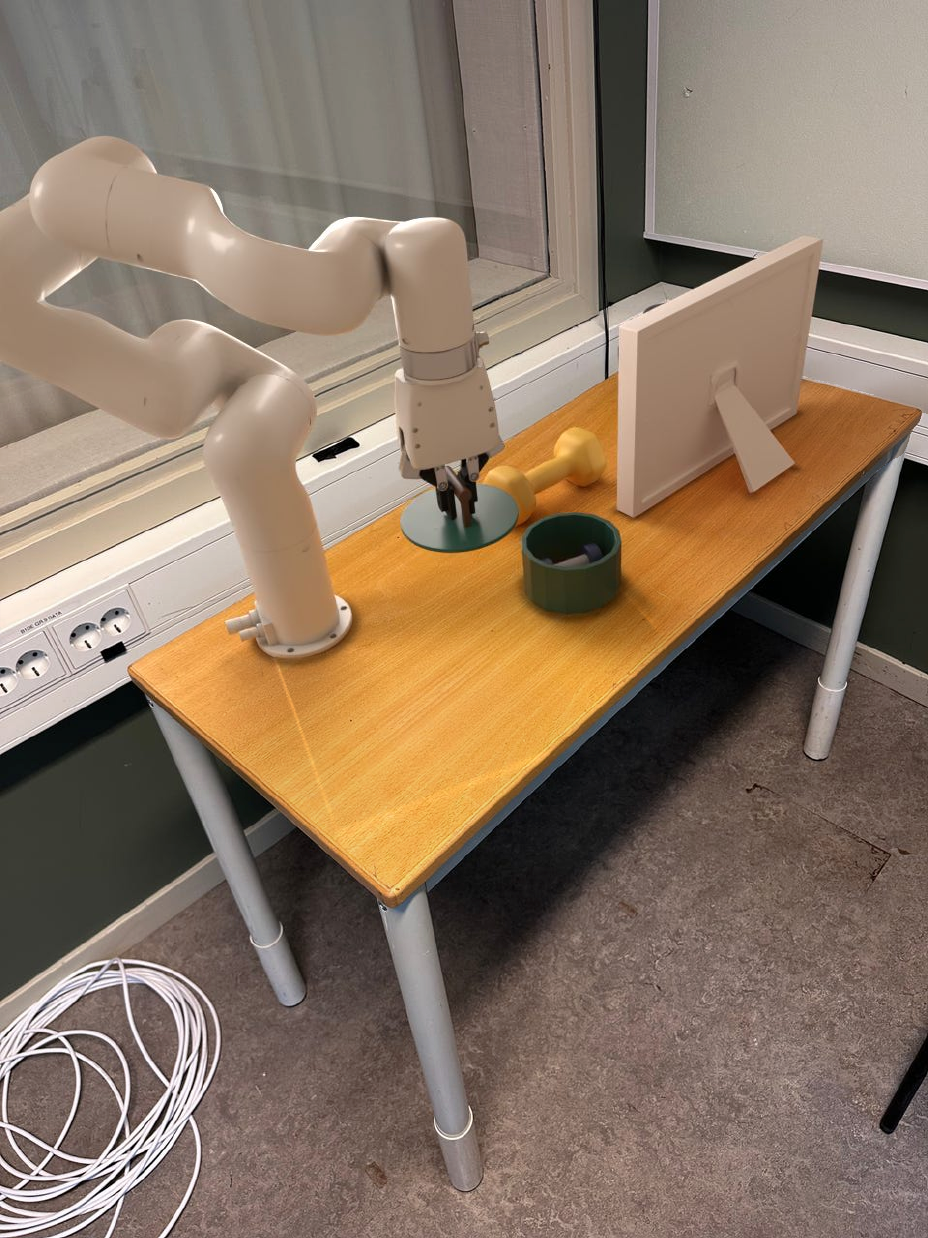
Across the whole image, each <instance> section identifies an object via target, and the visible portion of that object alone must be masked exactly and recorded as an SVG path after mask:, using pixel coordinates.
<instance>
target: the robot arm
mask: <svg viewBox="0 0 928 1238" xmlns="http://www.w3.org/2000/svg"><path fill="white" fill-rule="evenodd" d="M467 250H468V248H467V241H466V236H465V233H464V231H463V229H462V227H461V226H460V225H459V224H458V223H457V222H455V221H453V220H451V219H449V218H444V217H435V216H434V217H422V218H421V217H420V218H415V219H410V220H407V221H396V220H387V219H379V218H378V219H377V218H371V217H360V216H352V217H345V218H341V219H338V220H336V221H334V222H333V223H331V224H330V225H329V226H328V227H327V228H326V229H325V230H324V231H323V232H322V234H321V235H320V236H319V237H318V238H317V239H316V240H315V241H314V243H312V245H311V246H310V247H309V249H306V248H300V247H296V246H293V245H287V244H283V243H279V242H275V241H272V240H267V239H264V238H261V237H258V236H256V235H253V234H250V233H249V232H247V231H246V230H242V229H241V228H240V227H238V226H237V225H235V224H234V223H233V222H232V221H231V220H229V218H228V217H227V216H226V215H225V213H224V209H223V204H222V202H221V200H220V197H219V195H218V194H217V193H216V192H215V190H214V189H213V188H211V187H210V186H209V185H206V184H205V183H201V182H197V181H192V180H188V179H183V178H178V177H174V176H169V175H164V174H160V173H158V172H157V170H156V168H155V166H154V164H153V162H152V161H151V160H150V158H149V157H148V156H147V155H146V154H145V153H144V152H143V151H142V150H141V149H140V148H139V147H137V146H136V145H134V144H133V143H132V142H130V141H128V140H125V139H123V138H120V137H116V136H113V135H112V136H111V135H98V136H93V137H90V138H87V139H85V140H83V141H81V142H79V143H77V144H76V145H72V147H69V148H68V149H65V150H64V151H62V152H60V153H58V154H56V155H55V156H52V157H51V158H50V159H48V160H47V161H45V162H44V163H43V165H41V166H40V167H39V169H38V170H37V171H36V173H35V174H34V176H33V179H32V180H31V184H30V187H29V193H27V194H26V195H25V196H24V197H22V198H21V199H19V200H18V201H16V202H15V203H13V204H11V205H9V206H7V207H6V208H4V209H2V210H0V362H1V363H3V364H4V365H7V366H9V367H11V368H14V369H16V370H18V371H21V372H22V373H24V374H28V375H30V376H31V377H35V378H37V379H40V380H43V381H44V382H47V383H49V384H51V385H54V386H55V387H58V388H60V389H62V390H64V391H66V392H68V393H70V394H72V395H74V396H76V397H77V398H78V399H81V400H82V401H85V402H87V403H88V404H90V405H92V406H94V407H95V408H97V409H100V410H101V411H103V412H106V413H107V414H109V415H111V416H113V417H115V418H117V419H119V420H121V421H123V422H125V423H126V424H128V425H131V426H132V427H134V428H137V430H140V431H142V432H144V433H147V434H149V435H151V436H152V437H153V436H154V437H156V438H160V439H163V440H176V439H178V438H181V437H183V436H184V435H187V434H188V433H189V432H190V431H191V430H192V429H193V428H194V427H195V426H196V425H197V424H198V423H199V421H200V420H202V418H203V417H204V415H205V414H206V413H207V412H208V410H209V409H210V408H212V409H215V410H217V411H219V412H218V413H217V414H216V416H215V417H214V418H213V420H212V422H211V423H210V425H209V427H208V429H207V431H206V434H205V436H204V440H203V445H202V446H203V447H202V459H203V465H204V468H205V471H206V473H207V476H208V477H209V479H210V481H211V483H212V484H213V486H214V488H215V489H216V491H217V494H218V495H219V497H220V499H221V501H222V503H223V505H224V507H225V509H226V513H227V515H228V518H229V520H230V523H231V527H232V530H233V532H234V536H235V539H236V541H237V544H238V546H239V550H240V553H241V556H242V559H243V563H244V565H245V569H246V571H247V574H248V575H247V576H248V578H249V581H250V584H251V587H252V590H253V593H254V597H255V599H256V600H254V601H253V603H254V606H255V608H254V609H251V610H248V614H244V615H242V616H236V617H234V618H231V619H226V620H224V623H225V626H226V629H227V632H228V635H229V636H232V635H235V634H238V635H239V638H240V641H241V642H242V643H243V642H247V641H250V640H252V639H254V638H255V640H256V643H257V645H258V647H259V648H260V649H261V650H262V651H263V652H264V653H266V655H268V656H271V657H273V658H282V659H303V658H308V657H312V656H316V655H319V654H320V653H324V652H325V651H328V650H330V649H331V648H333V647H334V646H336V645H337V644H338V643H340V642H341V641H342V640H343V639H344V638H345V637H346V635H347V634H348V633H349V631H350V629H351V628H352V624H353V613H352V610H351V607H350V605H349V603H348V602H347V601H346V600H345V599H344V598H342V597H340V596H339V595H337V594H335V591H334V587H333V582H332V579H331V574H330V569H329V566H328V563H327V558H326V555H325V550H324V547H323V542H322V539H321V534H320V530H319V525H318V522H317V519H316V515H315V510H314V505H313V503H312V500H311V497H310V496H309V493H308V490H307V489H306V487H305V485H304V484H303V483H302V481H301V480H300V478H299V476H298V471H297V467H296V465H297V464H296V463H297V459H298V457H299V454H300V453H301V451H302V449H303V446H304V445H305V443H306V441H307V440H308V438H309V436H310V434H311V432H312V430H313V428H314V426H315V424H316V420H317V416H318V402H317V398H316V396H315V394H314V391H313V389H312V388H311V387H310V385H309V384H308V383H307V382H306V381H305V379H303V377H301V376H300V375H299V374H298V373H297V372H295V371H293V370H292V369H291V368H289V367H287V366H286V365H284V364H283V363H281V362H279V361H278V360H276V359H273V358H272V357H270V356H268V355H266V354H265V353H263V352H261V351H260V350H258V349H256V348H254V347H253V346H250V345H248V344H247V343H245V342H243V341H241V340H240V339H237V338H236V337H235V336H233V335H231V334H229V333H227V332H225V331H223V330H221V329H220V328H218V327H215V326H213V325H211V324H208V323H206V322H204V321H203V322H202V321H199V320H193V319H176V320H172V321H169V322H167V323H164V324H163V325H161V326H159V327H158V328H157V329H156V330H155V331H153V333H151V334H150V335H149V336H148V337H147V338H141V337H138V336H136V335H133V334H131V333H129V332H127V331H125V330H124V329H121V328H119V327H117V326H115V325H114V324H112V323H110V322H109V321H107V320H105V319H103V318H102V317H99V316H97V315H94V314H92V313H88V312H85V311H81V310H77V309H74V308H67V307H61V306H57V305H54V304H51V303H49V302H47V301H46V298H47V297H48V296H50V295H52V294H53V293H54V292H55V291H57V290H58V289H60V288H61V287H62V286H63V285H64V284H67V282H69V281H70V280H71V279H72V278H74V277H75V276H77V275H78V274H80V273H81V272H82V271H83V270H84V269H86V268H87V267H88V266H90V264H92V263H93V262H94V261H96V260H97V259H99V258H100V259H104V260H108V261H112V262H115V263H119V264H125V265H129V266H134V267H137V268H142V269H146V270H151V271H155V272H158V273H163V274H167V275H171V276H175V277H180V278H183V279H187V280H191V281H193V282H195V283H197V284H199V285H200V286H201V287H202V288H203V289H204V290H205V291H206V292H207V293H209V295H211V296H212V297H213V298H215V299H217V300H218V301H219V302H221V303H222V304H224V305H226V306H227V307H228V308H230V309H232V310H233V311H235V312H237V313H238V314H240V315H242V316H243V317H247V318H248V319H251V320H254V321H256V322H259V323H263V324H265V325H270V326H274V327H277V328H282V329H286V330H291V331H294V332H298V333H299V332H300V333H303V334H309V335H315V336H323V337H324V336H327V337H330V336H331V337H332V336H333V337H335V336H341V335H345V334H348V333H351V332H353V331H355V330H356V329H359V327H360V326H362V325H363V323H364V322H365V321H366V320H367V318H368V317H369V316H370V314H371V313H372V311H373V309H374V308H375V306H376V304H377V303H378V302H379V301H380V300H382V299H383V298H384V297H389V298H390V299H391V302H392V310H393V316H394V321H395V322H394V323H395V328H396V335H397V339H398V347H399V352H400V360H401V367H402V368H398V369H397V370H396V372H395V374H394V375H395V376H394V411H395V424H396V425H395V426H396V435H397V443H398V446H399V447H398V448H399V450H400V452H401V455H400V461H399V466H398V473H399V475H400V476H401V478H403V479H405V480H423V481H424V482H426V483H428V484H429V485H431V486H433V487H434V489H435V490H436V497H437V503H438V507H439V509H440V511H441V512H444V511H445V513H446V514H447V515H448V517H449V518H450V520H451V521H452V520H455V519H456V518H457V511H456V503H455V495H454V491H453V488H452V487H451V485H450V484H449V481H448V480H447V474H446V468H445V466H446V465H449V464H452V463H455V462H459V468H460V469H459V471H457V473H456V474H457V476H458V477H459V478H460V479H461V481H462V482H463V483H464V484H465V486H466V487H467V488H468V490H469V491H470V492H471V494H472V496H471V499H470V500H469V501H468V504H469V512H470V514H475V513H476V512H475V503H474V502H477V501H478V496H477V487H476V483H477V481H478V480H479V478H480V473H481V471H482V470H483V469H484V468H485V466H486V465H487V463H488V462H489V460H490V459H492V458H493V457H495V456H497V455H498V454H499V453H501V452H503V451H504V450H505V442H504V441H503V439H502V437H501V435H500V432H499V431H500V430H499V421H498V415H497V414H498V413H497V410H496V409H497V408H496V405H495V404H496V403H495V399H494V394H493V390H492V386H491V381H490V378H489V375H488V374H489V373H488V372H487V368H486V365H485V362H484V359H483V358H482V357H481V355H480V349H482V348H483V347H485V346H488V345H489V344H490V338H489V334H488V332H487V331H485V330H484V331H481V332H479V331H476V330H475V320H474V311H473V310H474V309H473V303H472V302H473V301H472V291H471V290H472V289H471V281H470V280H471V279H470V271H469V260H468V251H467ZM460 503H461V502H460Z"/></svg>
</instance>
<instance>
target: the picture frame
mask: <svg viewBox="0 0 928 1238" xmlns="http://www.w3.org/2000/svg"><path fill="white" fill-rule="evenodd" d="M823 244H824V238H819V237H813V236H808V235H802V236H799V237H797V238H796V239H793V240H791V241H789V242H787V243H785V244H783V245H781V246H779V247H777V248H775V249H773V250H770V251H769V252H766V253H765V254H763V255H761V256H759V257H756V258H754V259H752V260H750V261H748V262H746V263H744V264H742V265H740V266H738V267H737V268H734V269H732V270H730V271H727V272H726V273H724V274H722V275H719V276H718V277H716V278H714V279H711V280H710V281H707V282H704V283H703V284H701V285H700V286H697V287H695V288H693V289H692V290H689V291H687V292H685V293H683V294H681V295H679V296H677V297H675V298H672V299H671V300H669V301H666V302H663V303H664V304H662V305H660V306H658V307H656V308H654V309H652V310H650V311H648V312H646V313H644V314H643V313H642V314H640V315H638V316H636V317H634V318H632V319H630V320H628V321H625V322H624V323H621V324H620V325H619V326H618V345H619V362H618V361H617V368H618V370H617V371H618V375H617V378H618V379H617V382H618V383H617V452H616V453H617V457H616V458H617V460H616V461H617V463H616V464H617V465H616V467H617V469H616V510H617V511H619V512H621V513H623V514H625V515H627V516H629V517H631V518H632V519H634V518H636V517H638V516H639V515H641V514H642V513H644V512H645V511H647V510H649V509H650V508H652V507H653V506H655V505H656V504H658V503H660V502H661V501H662V500H664V499H666V498H667V497H669V496H671V495H672V494H674V493H675V492H677V491H678V490H680V489H681V488H683V487H685V486H686V485H688V484H689V483H691V482H692V481H694V480H695V479H697V478H698V477H700V476H702V475H703V474H704V473H706V472H708V471H710V470H711V469H713V468H714V467H715V466H717V465H719V464H721V463H722V462H723V461H725V460H726V459H728V458H730V457H731V456H733V455H734V454H735V457H736V460H737V463H738V464H739V468H740V471H741V473H742V476H743V479H744V481H745V484H746V486H747V490H748V492H749V494H752V493H754V492H756V491H757V490H759V489H761V488H762V487H763V486H765V485H766V484H767V483H769V482H770V481H772V480H774V479H775V478H776V477H777V476H779V475H781V474H782V473H783V472H785V471H786V470H788V469H789V468H791V467H792V466H794V465H795V464H796V462H795V461H794V460H793V459H792V457H791V456H790V454H789V453H788V452H787V451H786V449H785V448H784V447H783V446H782V444H781V443H780V442H779V440H778V439H777V438H776V436H775V435H774V434H773V432H772V430H773V429H775V428H776V427H778V426H779V425H781V424H783V423H784V422H786V421H787V420H789V419H791V418H792V417H794V416H795V415H797V413H798V408H799V400H800V395H801V387H802V381H803V375H804V369H805V363H806V355H807V349H808V343H809V336H810V330H811V329H810V328H811V322H812V316H813V315H812V314H813V309H814V303H815V296H816V289H817V283H818V276H819V270H820V262H821V257H822V250H823Z"/></svg>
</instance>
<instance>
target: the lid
mask: <svg viewBox="0 0 928 1238" xmlns="http://www.w3.org/2000/svg"><path fill="white" fill-rule="evenodd" d="M445 468H446V474H447V480H448V481H449V484H450V485H451V487H452V488H453V491H454V495H455V503H456V511H457V518H456V519H455V520H452V521H451V520H450V518H449V517H448V515H447V514H446V513H445V511H444V512H441V511H440V509H439V507H438V503H437V497H436V490H435V488H433V489H430V490H428V491H425V492H424V493H421V494H420V495H418V496H417V497H415V498H413V499H412V500H411V501H410V502H409V503H408V504H407V505H406V506H405V508H404V509H403V511H402V512H401V514H400V515H401V516H400V520H399V522H400V523H399V525H400V530H401V533H402V534H403V536H404V537H405V539H406V540H407V541H408V542H410V543H411V544H413V545H414V546H416V547H418V548H420V549H422V550H426V551H428V552H429V551H431V552H434V553H441V554H462V553H467V552H468V553H469V552H474V551H477V550H482V549H485V548H487V547H489V546H492V545H494V544H496V543H498V542H499V541H502V540H503V539H504V538H506V537H508V536H509V534H510V533H511V532H512V531H513V530H514V529H515V528H516V527H517V526H516V524H517V522H518V518H519V509H518V505H517V503H516V501H515V500H514V498H513V497H512V496H511V495H510V494H508V493H507V492H505V491H504V490H502V489H499V488H497V487H494V486H490V485H486V484H483V483H479V482H476V487H477V496H478V501H477V502H474V503H475V512H476V513H475V514H470V512H469V504H468V501H469V500H470V499H471V496H472V494H471V492H470V491H469V490H468V488H467V487H466V486H465V484H464V483H463V482H462V481H461V479H460V478H459V477H458V476H457V474H458V473H456V471H455V470H454V469H453V468H452V467H451V466H450V465H445ZM460 502H461V503H460ZM515 526H516V527H515Z"/></svg>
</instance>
